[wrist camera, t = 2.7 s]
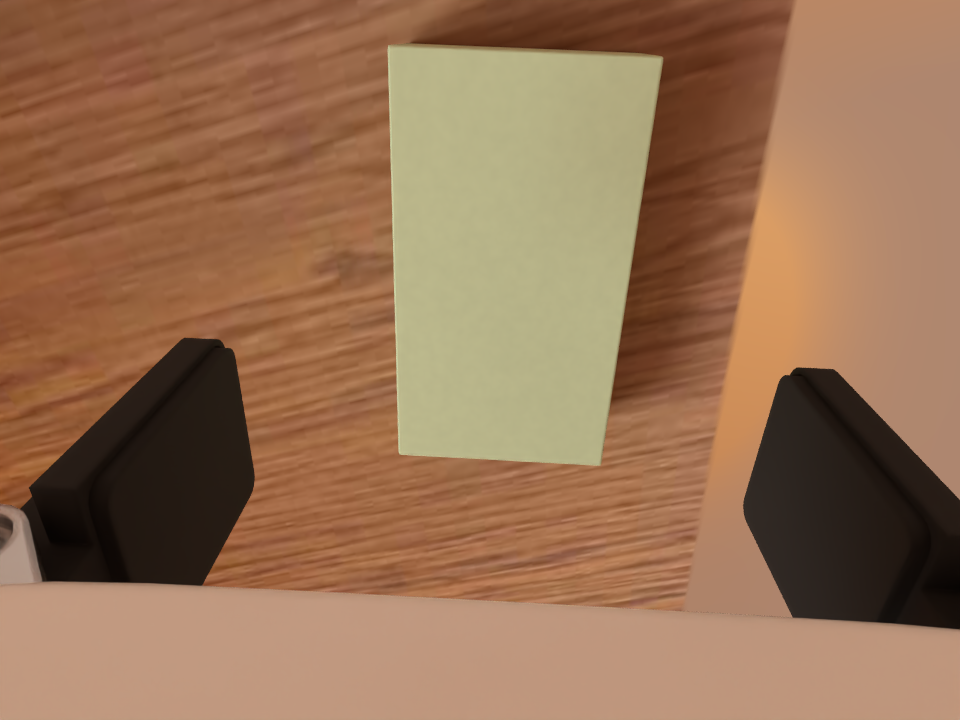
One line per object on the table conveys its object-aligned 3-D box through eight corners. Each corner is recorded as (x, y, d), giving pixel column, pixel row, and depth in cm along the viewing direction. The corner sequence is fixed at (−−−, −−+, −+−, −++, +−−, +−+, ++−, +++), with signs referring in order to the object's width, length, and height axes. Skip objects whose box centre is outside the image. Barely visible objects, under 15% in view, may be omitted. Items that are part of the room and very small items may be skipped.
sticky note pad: (405, 43, 18) (387, 44, 15) (641, 52, 18) (664, 56, 15) (411, 407, 23) (398, 455, 21) (590, 417, 23) (601, 466, 20)
